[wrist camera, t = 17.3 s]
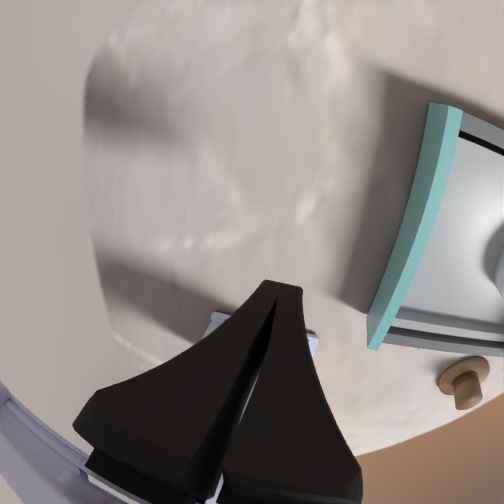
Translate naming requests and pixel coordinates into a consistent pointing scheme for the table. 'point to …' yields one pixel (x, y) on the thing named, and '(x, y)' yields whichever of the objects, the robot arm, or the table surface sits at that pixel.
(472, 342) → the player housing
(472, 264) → the tray
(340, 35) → the table surface
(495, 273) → the white round dome
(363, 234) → the table surface
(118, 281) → the table surface
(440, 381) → the disc stand
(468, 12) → the table surface
